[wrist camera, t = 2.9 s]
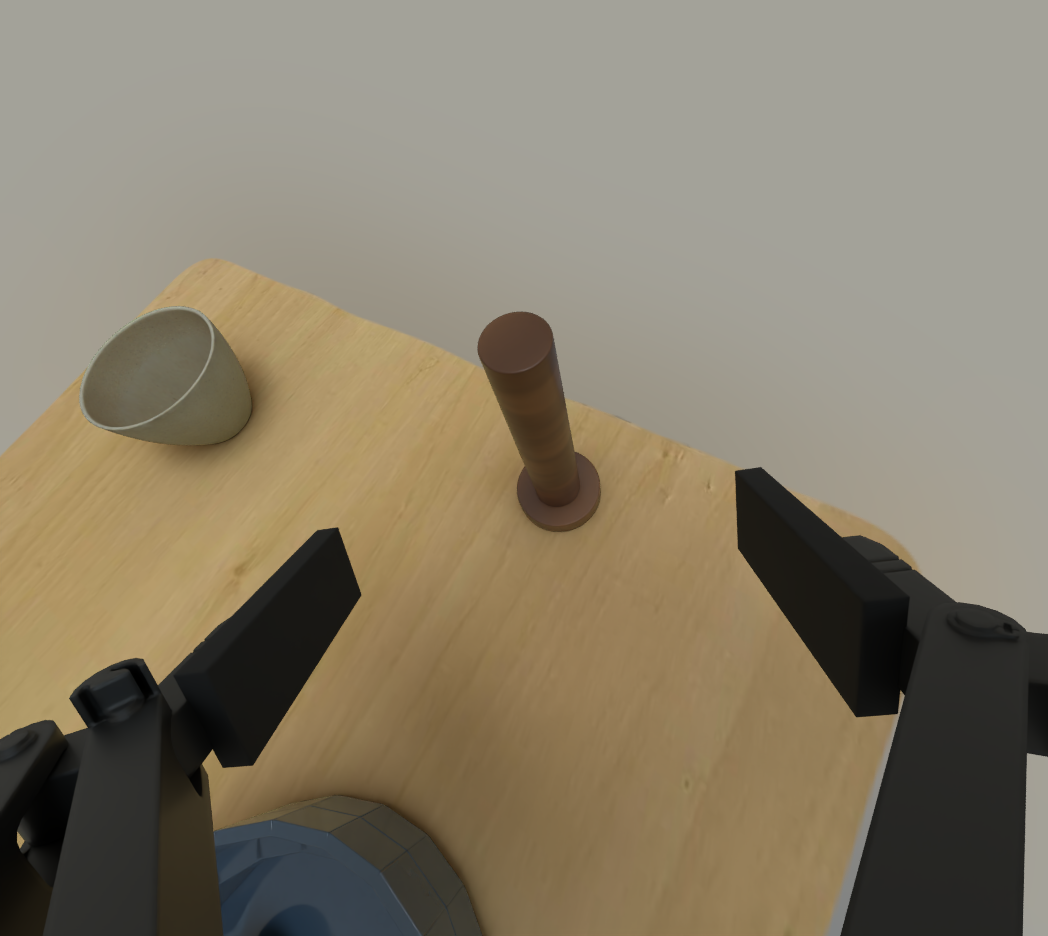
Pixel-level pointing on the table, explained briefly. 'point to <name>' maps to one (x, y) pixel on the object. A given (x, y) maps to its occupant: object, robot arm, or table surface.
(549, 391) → the wooden peg stand
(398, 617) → the table surface
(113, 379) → the flower pot
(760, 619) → the table surface
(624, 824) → the table surface
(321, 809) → the bowl
